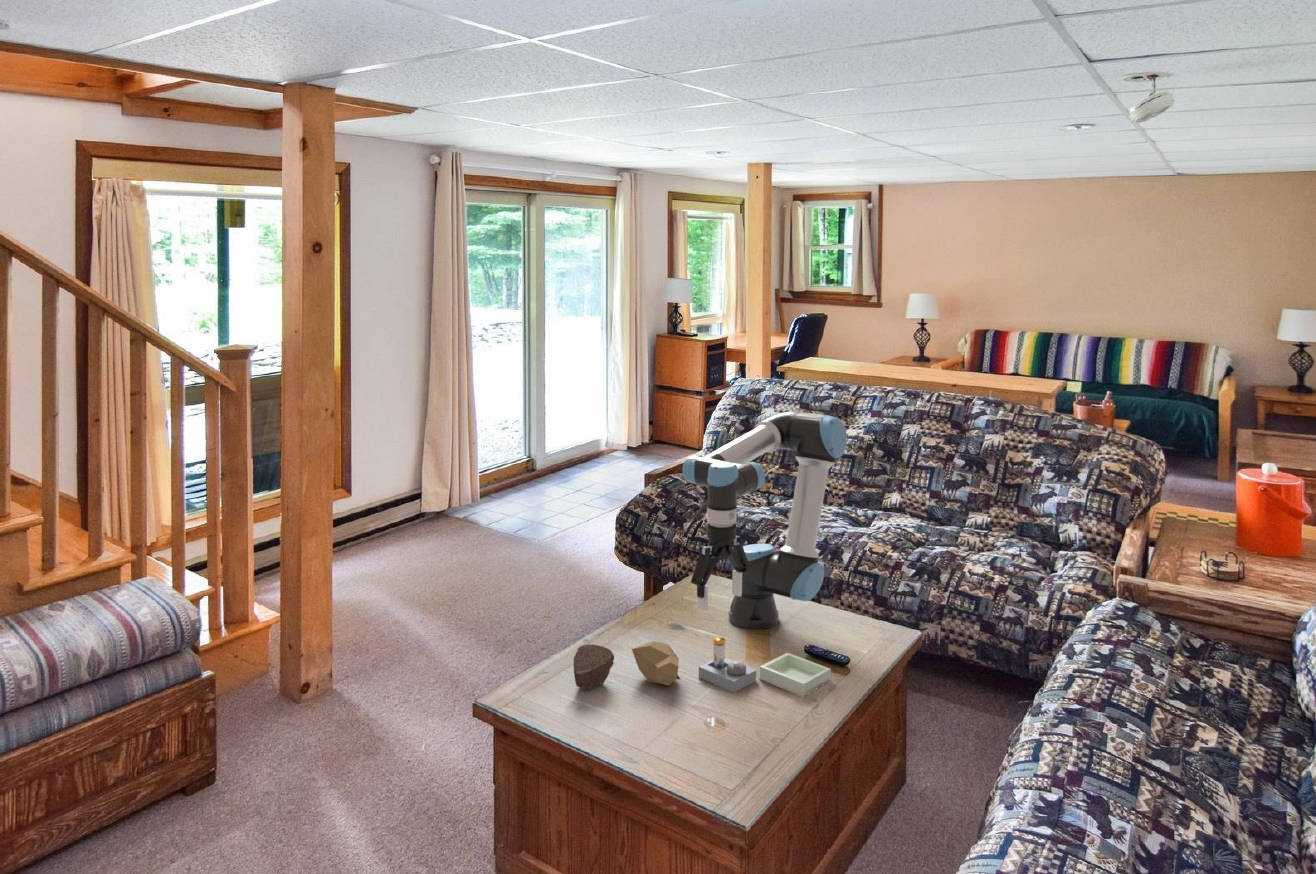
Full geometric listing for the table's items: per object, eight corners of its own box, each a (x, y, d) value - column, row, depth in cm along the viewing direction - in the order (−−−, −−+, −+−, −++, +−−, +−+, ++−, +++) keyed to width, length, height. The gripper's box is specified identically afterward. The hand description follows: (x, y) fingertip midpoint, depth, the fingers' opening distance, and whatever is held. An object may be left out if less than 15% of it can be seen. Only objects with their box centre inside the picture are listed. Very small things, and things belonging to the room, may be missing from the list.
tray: (759, 679, 246) (759, 666, 245) (787, 664, 254) (787, 652, 254) (803, 696, 236) (803, 684, 236) (830, 681, 245) (830, 668, 244)
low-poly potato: (636, 670, 251) (617, 666, 241) (656, 634, 252) (638, 629, 242) (680, 699, 244) (663, 697, 234) (701, 662, 245) (684, 658, 235)
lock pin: (710, 675, 248) (711, 639, 246) (717, 671, 250) (718, 636, 248) (719, 679, 246) (719, 642, 244) (726, 675, 248) (727, 639, 246)
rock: (587, 685, 231) (561, 656, 235) (577, 705, 238) (552, 676, 242) (622, 659, 239) (596, 631, 243) (612, 679, 246) (587, 651, 250)
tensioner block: (698, 677, 247) (698, 657, 246) (720, 666, 253) (721, 647, 252) (733, 692, 239) (734, 672, 237) (755, 680, 245) (756, 661, 244)
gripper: (700, 536, 228) (698, 619, 232) (763, 516, 246) (761, 593, 250) (677, 530, 233) (676, 610, 237) (741, 510, 251) (739, 586, 255)
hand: (720, 601), depth 244 cm, fingers open, 13 cm apart
